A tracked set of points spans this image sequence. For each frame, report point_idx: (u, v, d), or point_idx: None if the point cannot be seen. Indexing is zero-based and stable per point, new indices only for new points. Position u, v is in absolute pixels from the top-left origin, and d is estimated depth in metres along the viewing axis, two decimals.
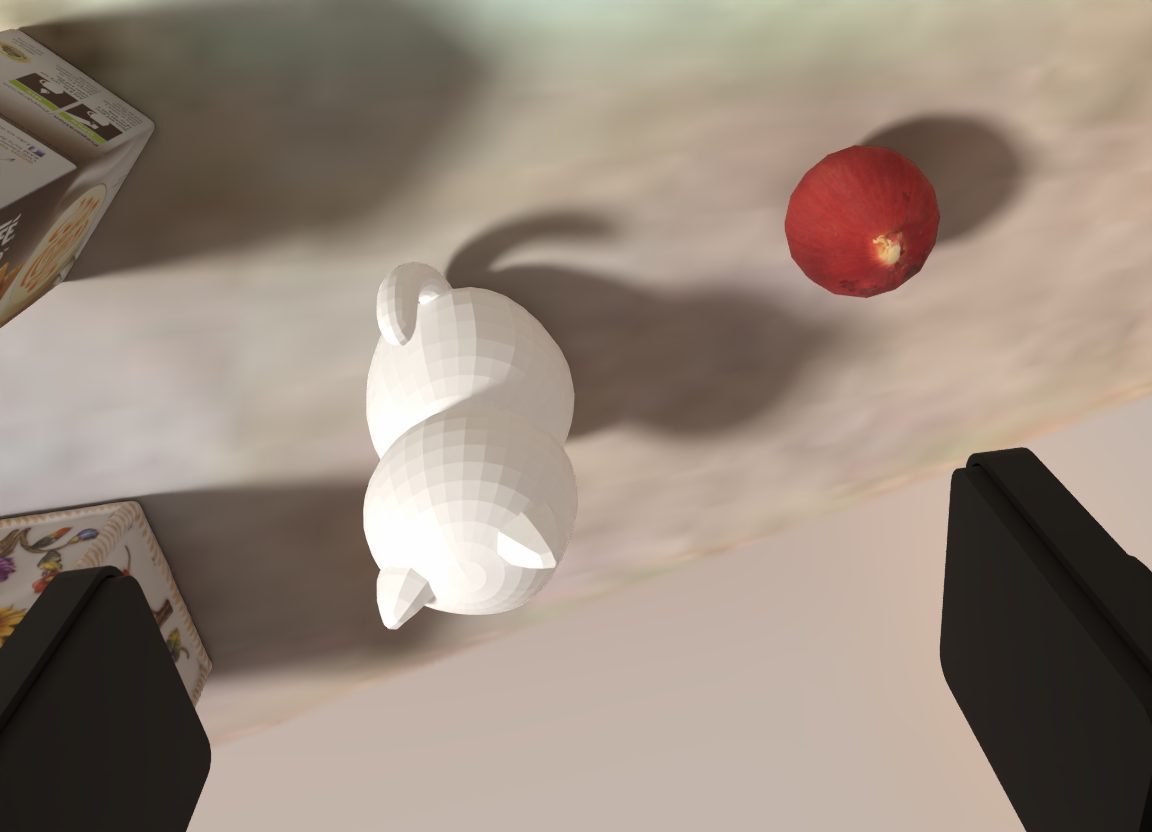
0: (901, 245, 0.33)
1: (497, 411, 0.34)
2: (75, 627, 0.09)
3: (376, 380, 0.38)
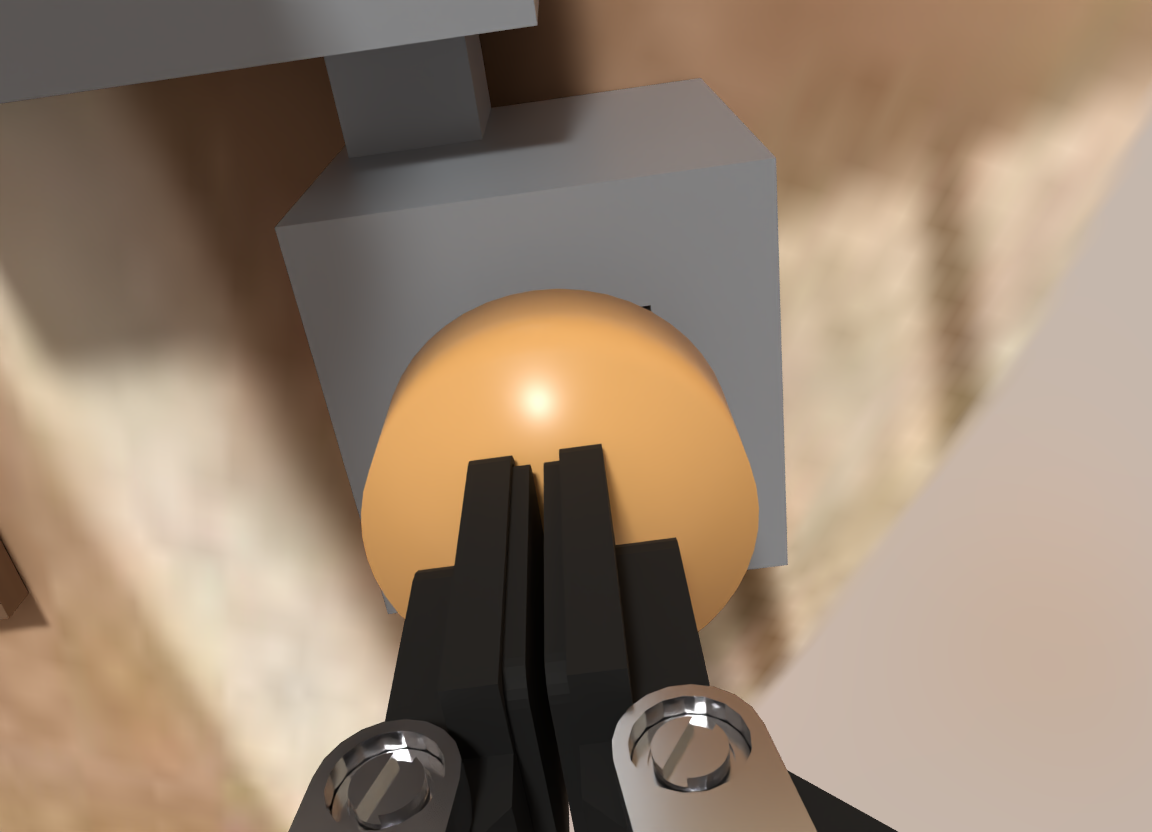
0: None
1: None
2: (515, 501, 0.10)
3: None
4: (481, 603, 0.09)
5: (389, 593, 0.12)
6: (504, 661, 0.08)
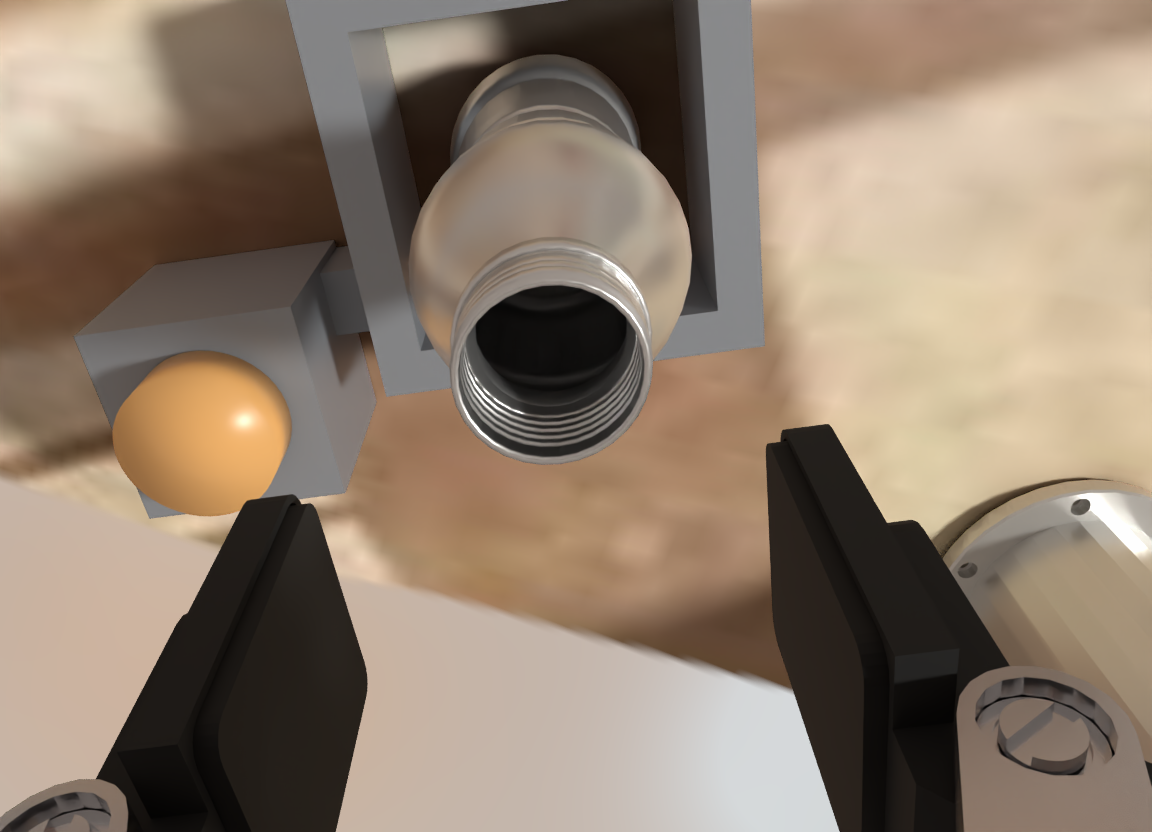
0: None
1: None
2: (277, 544, 0.10)
3: None
4: (196, 655, 0.08)
5: (150, 386, 0.28)
6: (198, 719, 0.08)
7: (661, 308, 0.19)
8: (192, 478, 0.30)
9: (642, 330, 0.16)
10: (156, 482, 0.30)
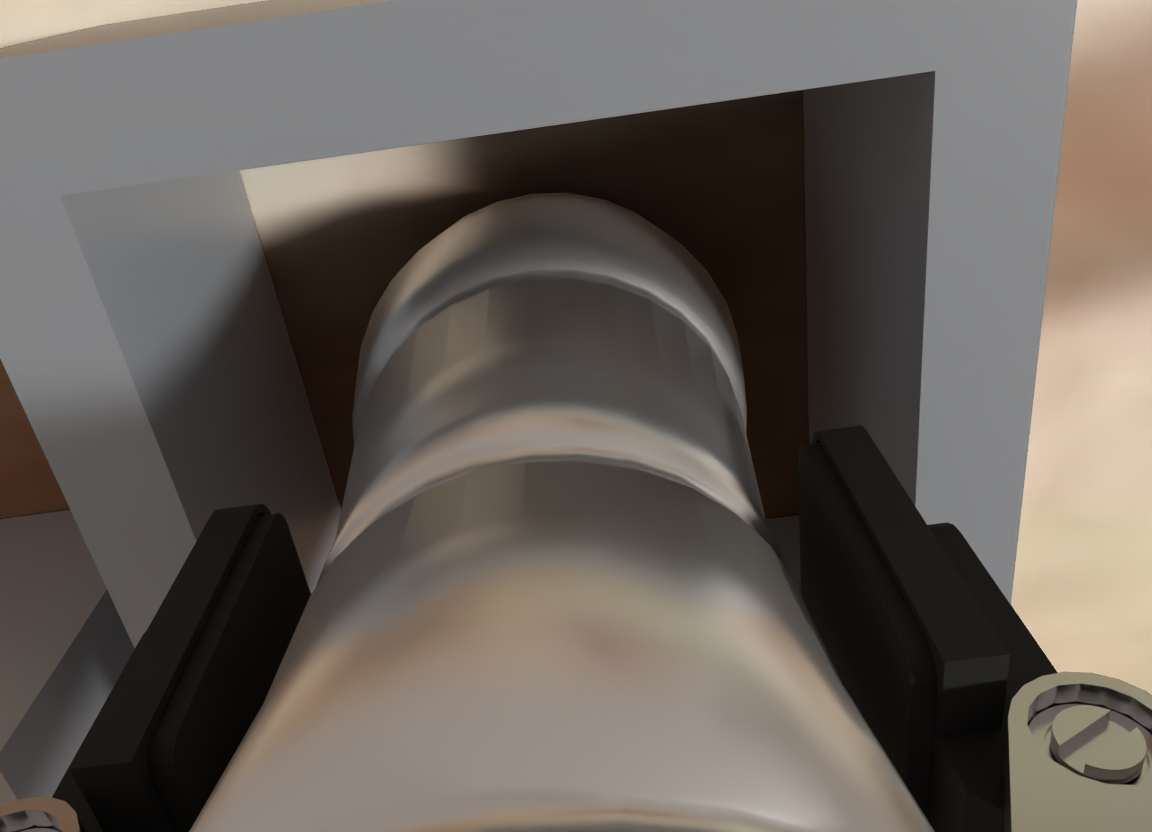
0: None
1: None
2: (242, 555, 0.10)
3: None
4: (153, 670, 0.08)
5: None
6: (153, 735, 0.08)
7: None
8: None
9: None
10: None
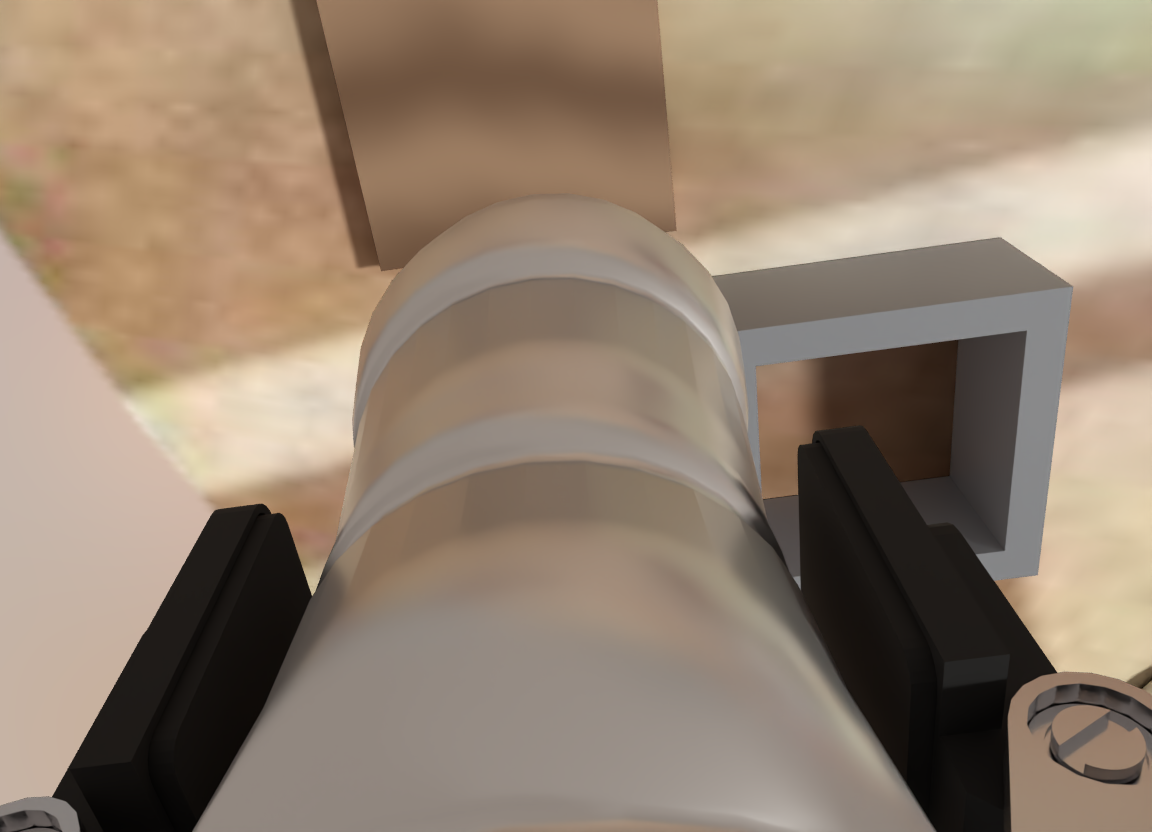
0: None
1: None
2: (243, 555, 0.10)
3: None
4: (155, 669, 0.08)
5: None
6: (153, 735, 0.08)
7: None
8: None
9: None
10: None
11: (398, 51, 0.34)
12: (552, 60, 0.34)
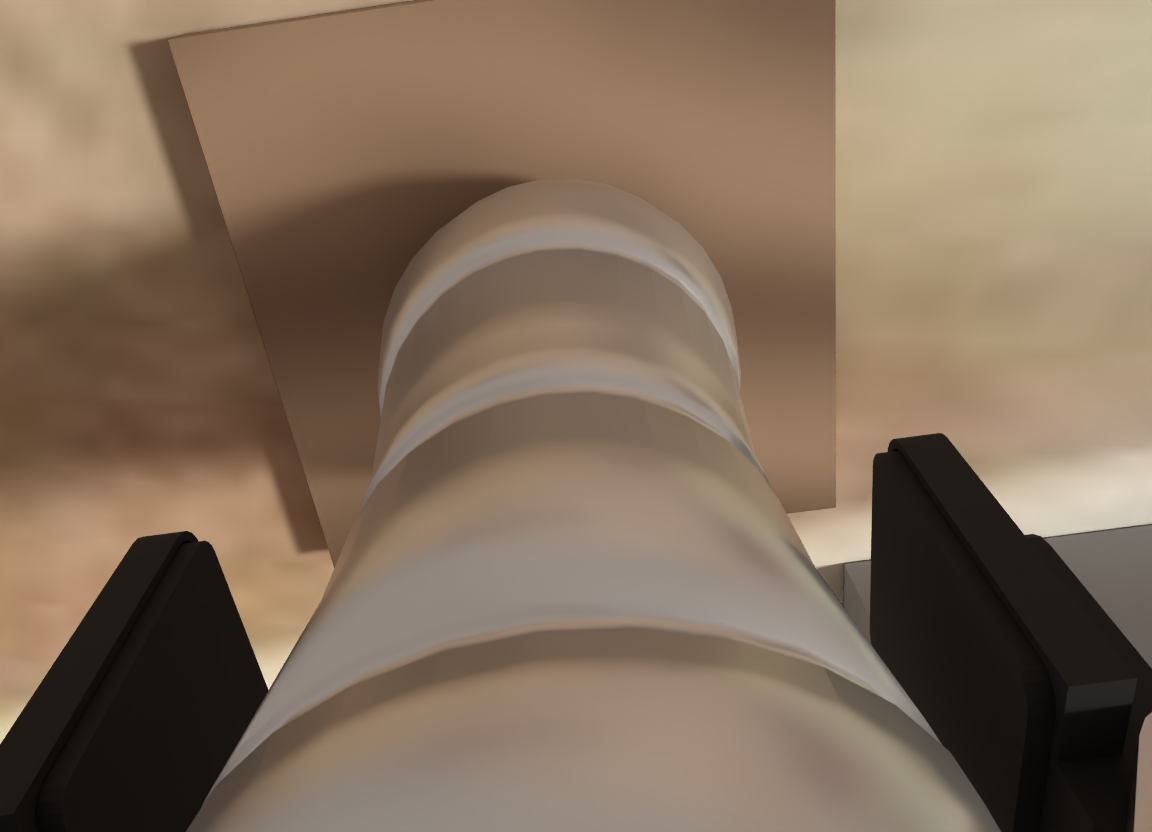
0: None
1: None
2: (160, 587, 0.10)
3: None
4: (51, 712, 0.08)
5: None
6: (42, 784, 0.07)
7: None
8: None
9: None
10: None
11: (357, 233, 0.19)
12: None
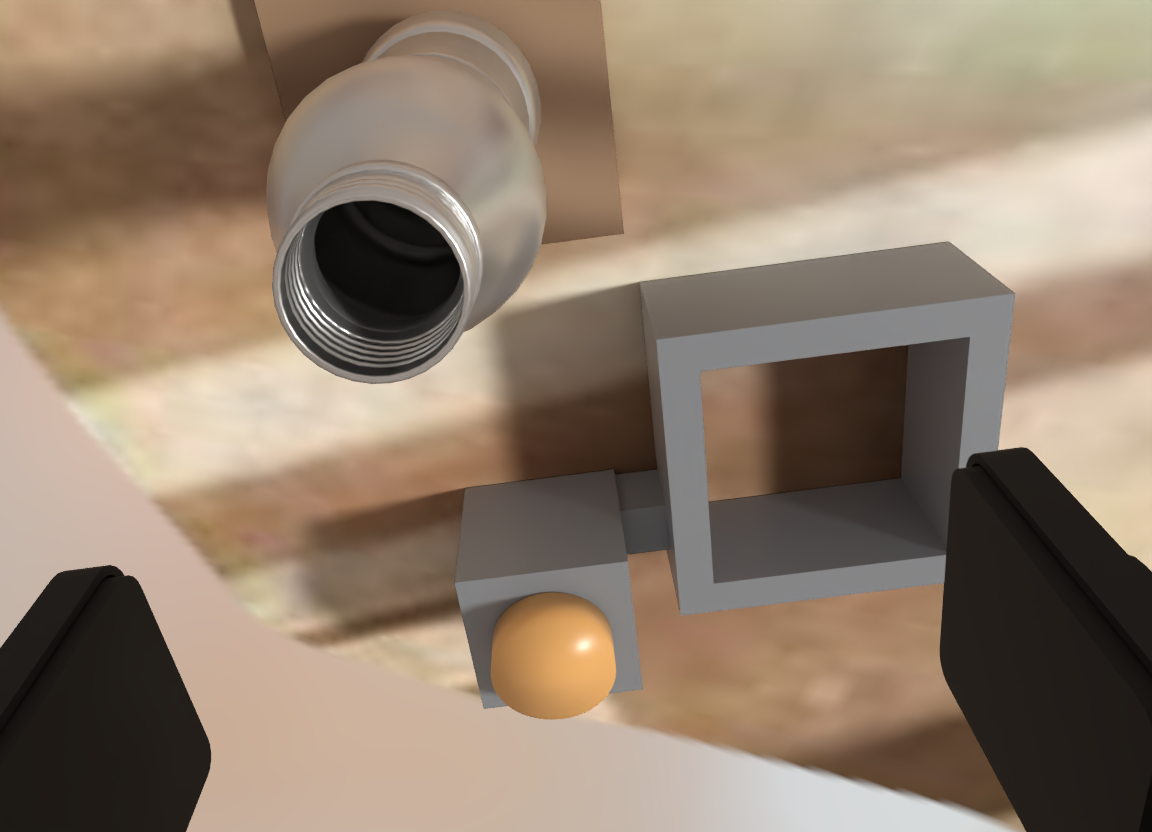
0: None
1: None
2: (75, 627, 0.09)
3: None
4: None
5: (530, 631, 0.36)
6: None
7: (505, 238, 0.20)
8: (546, 693, 0.38)
9: (457, 246, 0.16)
10: (517, 696, 0.38)
11: (338, 51, 0.33)
12: None
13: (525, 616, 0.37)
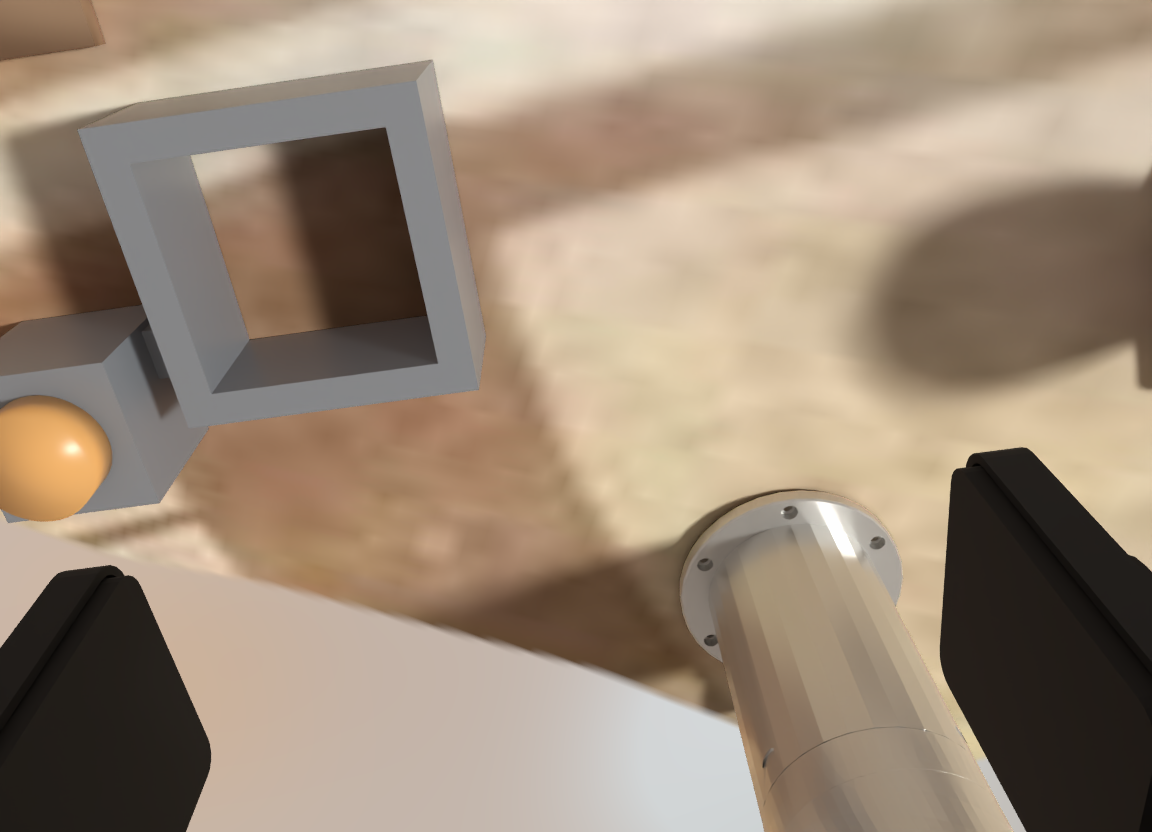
0: None
1: None
2: (75, 627, 0.09)
3: None
4: None
5: None
6: None
7: None
8: (29, 493, 0.39)
9: None
10: (2, 495, 0.39)
11: None
12: None
13: None
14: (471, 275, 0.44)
